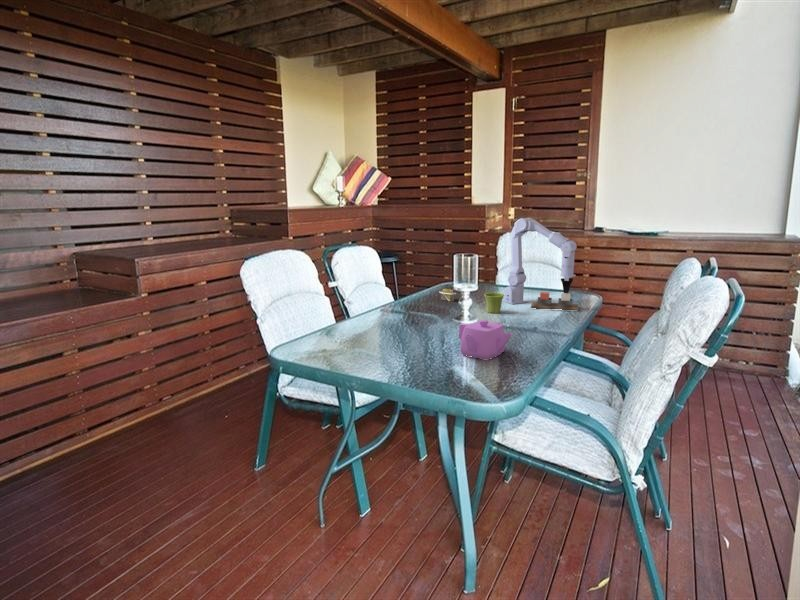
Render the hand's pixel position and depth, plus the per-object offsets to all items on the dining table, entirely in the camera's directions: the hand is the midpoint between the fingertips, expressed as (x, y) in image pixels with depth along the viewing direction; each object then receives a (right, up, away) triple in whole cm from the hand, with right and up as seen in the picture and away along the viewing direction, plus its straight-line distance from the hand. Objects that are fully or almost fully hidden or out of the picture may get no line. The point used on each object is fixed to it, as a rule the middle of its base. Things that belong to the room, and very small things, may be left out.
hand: (566, 292), depth 249 cm
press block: (-5, -8, +3) cm, 9 cm away
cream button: (0, -3, +1) cm, 3 cm away
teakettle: (-52, -23, -67) cm, 88 cm away
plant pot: (-37, -10, -4) cm, 38 cm away
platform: (-57, -4, +23) cm, 61 cm away
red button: (-9, -3, +4) cm, 11 cm away
